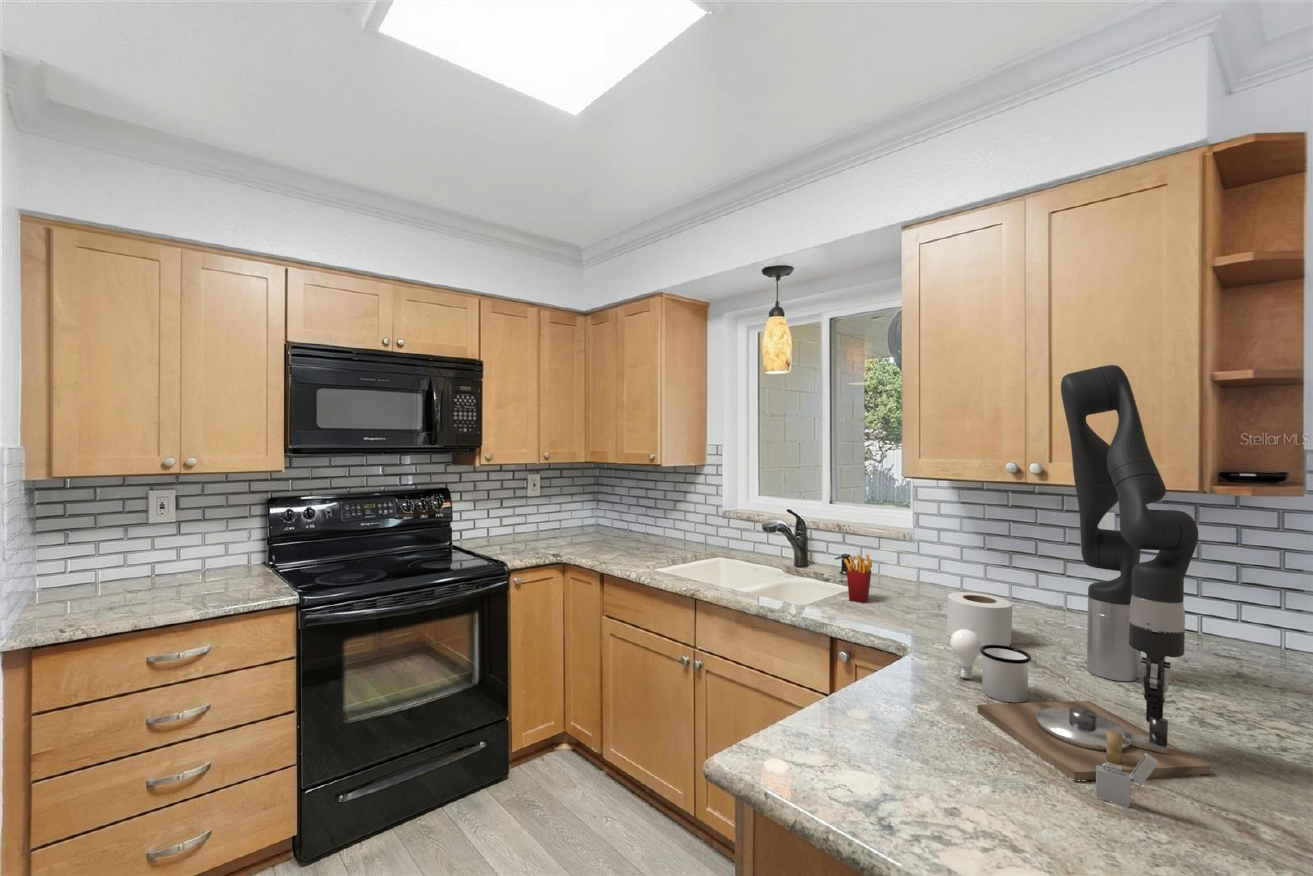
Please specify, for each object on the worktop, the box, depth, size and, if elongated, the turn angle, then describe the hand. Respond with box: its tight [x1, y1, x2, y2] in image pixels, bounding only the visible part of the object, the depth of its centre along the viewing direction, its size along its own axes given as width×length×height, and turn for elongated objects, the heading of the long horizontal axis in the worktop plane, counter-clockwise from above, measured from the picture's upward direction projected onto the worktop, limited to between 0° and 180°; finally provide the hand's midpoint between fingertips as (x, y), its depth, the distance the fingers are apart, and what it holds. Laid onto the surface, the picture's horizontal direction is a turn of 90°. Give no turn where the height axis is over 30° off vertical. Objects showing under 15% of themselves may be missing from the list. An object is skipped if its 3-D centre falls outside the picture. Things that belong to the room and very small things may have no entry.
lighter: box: [1095, 753, 1158, 808], centre depth 90 cm, size 7×2×8 cm, turn 55°
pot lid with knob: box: [1037, 707, 1169, 754], centre depth 108 cm, size 19×14×5 cm
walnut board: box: [976, 700, 1211, 782], centre depth 109 cm, size 24×24×6 cm
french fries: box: [843, 554, 873, 604], centre depth 202 cm, size 9×8×15 cm
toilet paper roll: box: [946, 591, 1013, 647], centre depth 165 cm, size 16×15×11 cm
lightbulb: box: [949, 629, 982, 680], centre depth 136 cm, size 6×6×11 cm
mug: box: [980, 645, 1032, 704], centre depth 129 cm, size 12×10×9 cm
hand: (1154, 722), depth 106 cm, fingers closed
